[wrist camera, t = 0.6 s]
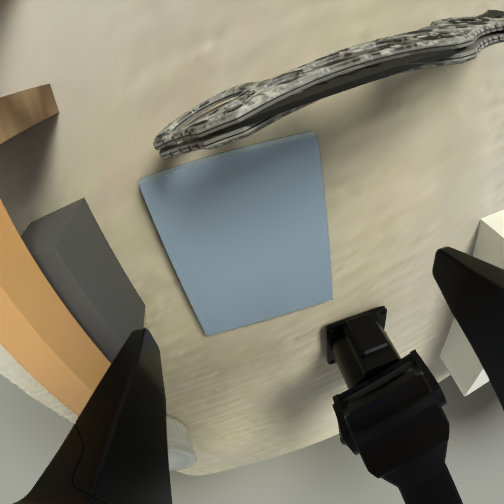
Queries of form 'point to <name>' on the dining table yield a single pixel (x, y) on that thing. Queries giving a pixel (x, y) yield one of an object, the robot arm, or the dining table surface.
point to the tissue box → (457, 345)
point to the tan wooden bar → (43, 326)
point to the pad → (246, 231)
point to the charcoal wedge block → (86, 275)
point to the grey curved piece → (328, 81)
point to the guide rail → (25, 110)
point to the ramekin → (179, 445)
